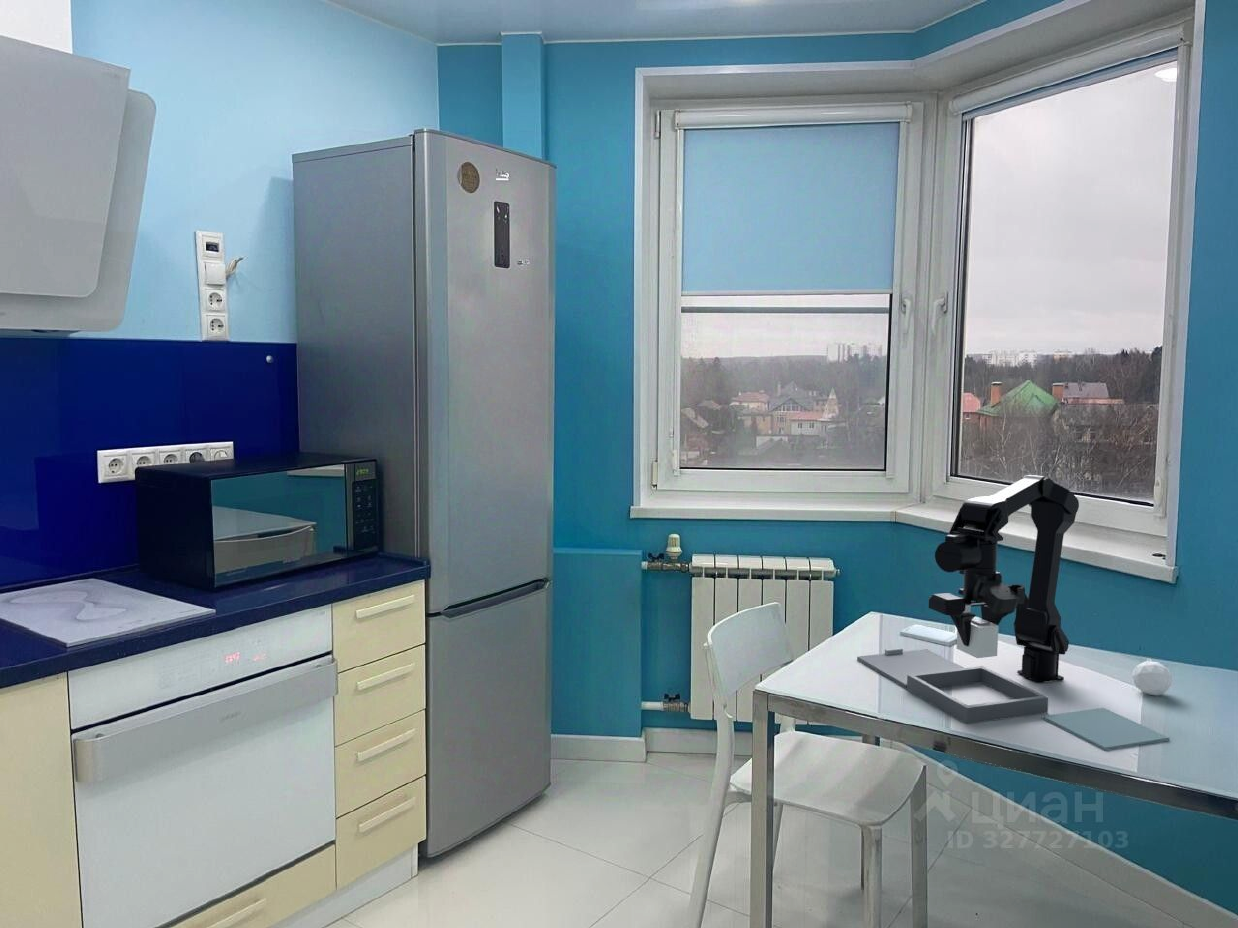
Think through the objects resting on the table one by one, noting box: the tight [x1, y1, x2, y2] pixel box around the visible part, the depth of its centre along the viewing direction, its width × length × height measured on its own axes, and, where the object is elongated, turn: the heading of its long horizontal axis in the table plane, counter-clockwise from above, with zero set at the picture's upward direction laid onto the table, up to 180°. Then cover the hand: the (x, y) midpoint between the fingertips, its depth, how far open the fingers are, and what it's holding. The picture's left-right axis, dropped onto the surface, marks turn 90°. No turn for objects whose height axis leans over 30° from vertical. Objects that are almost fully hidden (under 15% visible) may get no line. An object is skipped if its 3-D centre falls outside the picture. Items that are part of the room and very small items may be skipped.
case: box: [856, 647, 1049, 725], centre depth 175 cm, size 18×36×3 cm, turn 16°
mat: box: [1042, 707, 1170, 751], centre depth 152 cm, size 14×14×1 cm
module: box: [956, 616, 999, 659], centre depth 165 cm, size 4×6×6 cm
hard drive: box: [899, 623, 957, 647], centre depth 207 cm, size 2×8×12 cm
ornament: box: [1132, 658, 1172, 696], centre depth 169 cm, size 6×7×7 cm
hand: (976, 644), depth 165 cm, fingers closed on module, 4 cm apart
